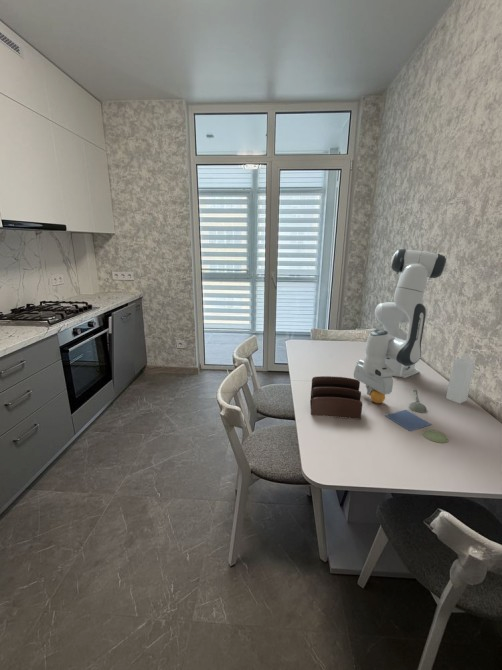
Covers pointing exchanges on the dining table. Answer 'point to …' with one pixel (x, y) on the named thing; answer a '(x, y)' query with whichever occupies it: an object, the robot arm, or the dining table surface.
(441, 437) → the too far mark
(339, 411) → the letter holder
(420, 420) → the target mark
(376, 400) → the ball
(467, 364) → the milk
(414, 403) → the soupspoon
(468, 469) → the dining table surface
